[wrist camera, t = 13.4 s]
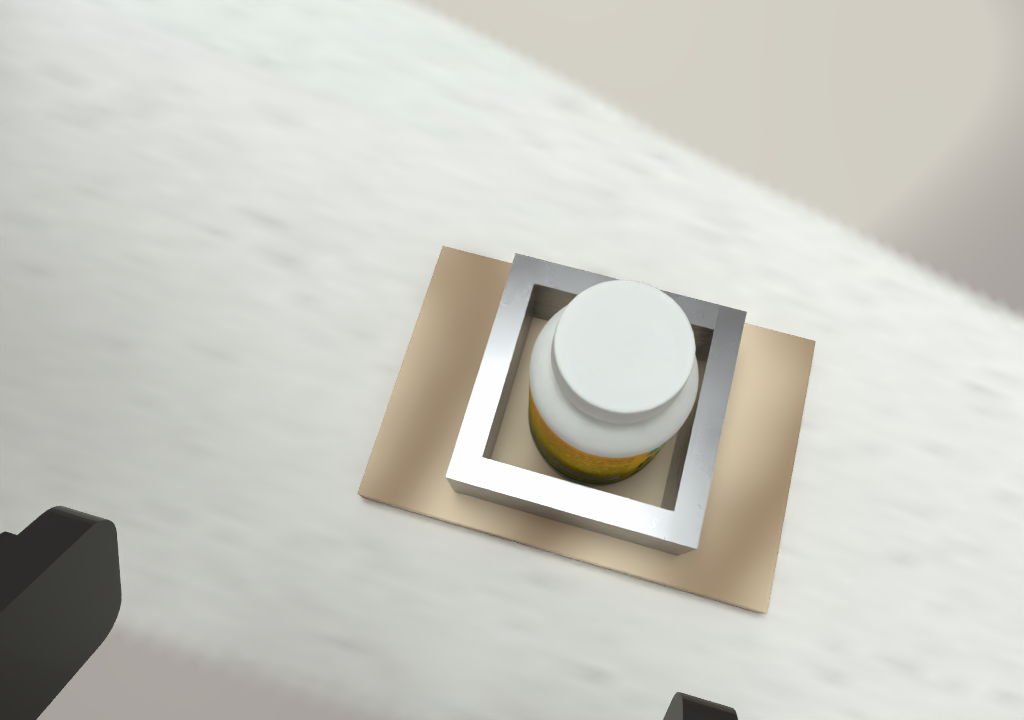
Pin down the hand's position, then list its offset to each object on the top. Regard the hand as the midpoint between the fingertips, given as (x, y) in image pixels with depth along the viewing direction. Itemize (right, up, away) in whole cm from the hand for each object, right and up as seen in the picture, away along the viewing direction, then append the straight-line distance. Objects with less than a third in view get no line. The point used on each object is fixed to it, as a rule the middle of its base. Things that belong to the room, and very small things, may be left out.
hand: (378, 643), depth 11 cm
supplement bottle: (+5, +1, +20) cm, 21 cm away
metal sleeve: (+5, +1, +21) cm, 22 cm away
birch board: (+5, +1, +21) cm, 22 cm away
